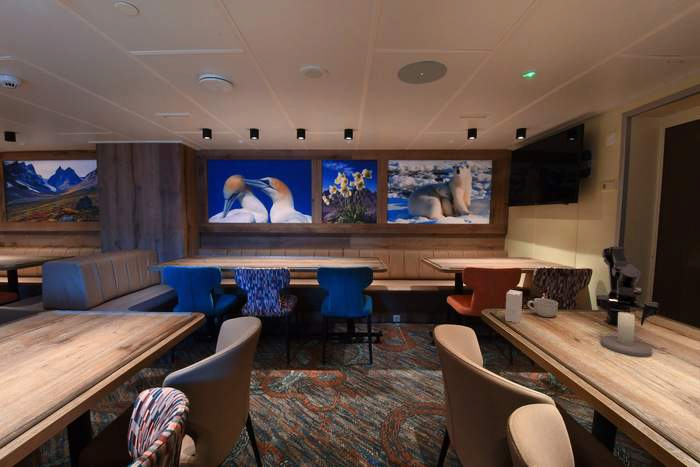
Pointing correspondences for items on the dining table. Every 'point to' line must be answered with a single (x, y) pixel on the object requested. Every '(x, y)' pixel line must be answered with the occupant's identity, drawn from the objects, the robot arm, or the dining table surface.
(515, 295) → the skincare box
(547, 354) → the dining table surface
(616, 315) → the robot arm
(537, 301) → the teacup
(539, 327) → the dining table surface
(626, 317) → the canister
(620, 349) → the grey-brown round disc
